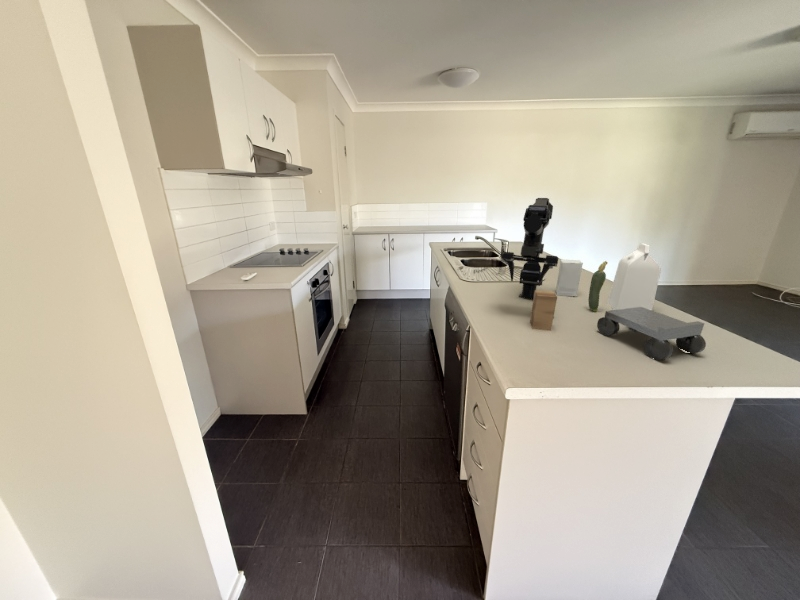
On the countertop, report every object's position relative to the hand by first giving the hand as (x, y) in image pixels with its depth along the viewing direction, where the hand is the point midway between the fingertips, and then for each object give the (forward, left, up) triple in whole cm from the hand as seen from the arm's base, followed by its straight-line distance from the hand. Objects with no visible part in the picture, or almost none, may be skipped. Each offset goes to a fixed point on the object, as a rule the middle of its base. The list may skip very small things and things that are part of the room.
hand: (525, 282), depth 113 cm
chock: (+4, +8, -13) cm, 16 cm away
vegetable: (-25, +19, -14) cm, 34 cm away
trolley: (-3, +37, -13) cm, 40 cm away
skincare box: (-41, +6, -14) cm, 43 cm away
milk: (-36, +30, -14) cm, 49 cm away
